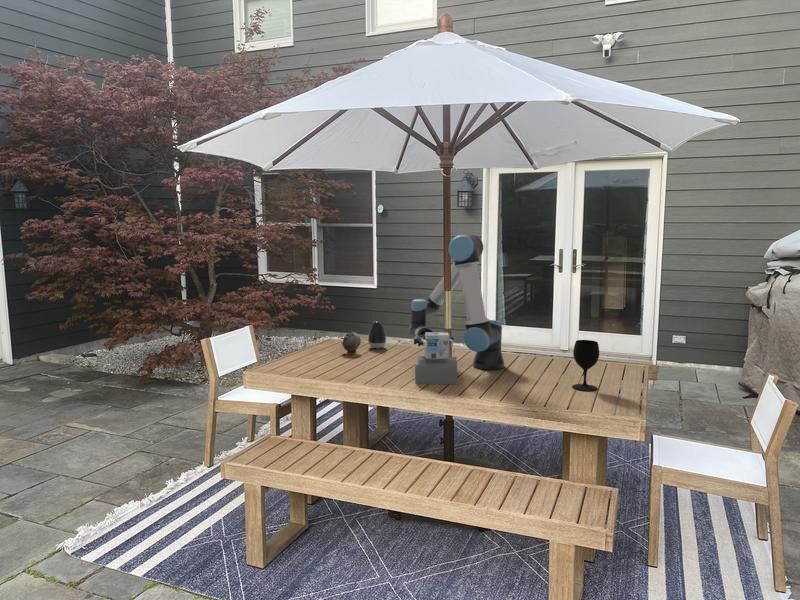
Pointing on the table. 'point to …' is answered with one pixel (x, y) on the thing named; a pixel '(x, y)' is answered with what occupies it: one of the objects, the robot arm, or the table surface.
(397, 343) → the table surface
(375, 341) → the black tapered dome
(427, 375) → the grey block
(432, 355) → the light bulb box
